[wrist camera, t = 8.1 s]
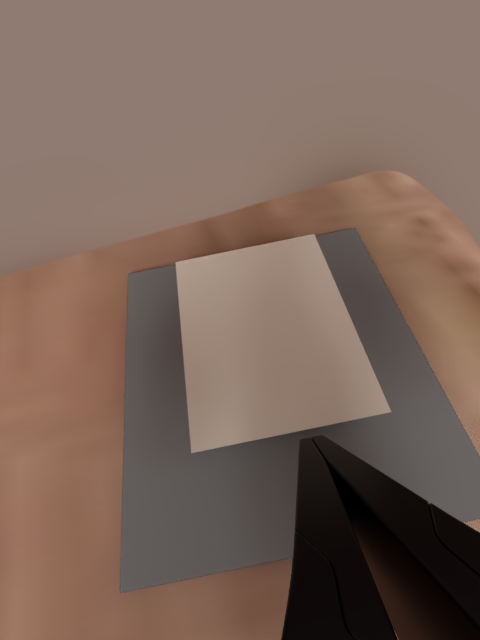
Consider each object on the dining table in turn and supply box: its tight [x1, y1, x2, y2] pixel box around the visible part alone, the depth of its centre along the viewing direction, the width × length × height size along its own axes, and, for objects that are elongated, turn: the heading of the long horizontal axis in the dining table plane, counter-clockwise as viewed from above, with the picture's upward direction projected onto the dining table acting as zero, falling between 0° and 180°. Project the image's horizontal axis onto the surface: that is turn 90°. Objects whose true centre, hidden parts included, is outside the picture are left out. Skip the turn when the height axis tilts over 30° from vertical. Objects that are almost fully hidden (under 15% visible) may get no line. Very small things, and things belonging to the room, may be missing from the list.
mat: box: [120, 228, 480, 593], centre depth 17 cm, size 20×20×1 cm
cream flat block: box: [175, 234, 391, 453], centre depth 16 cm, size 3×10×12 cm
